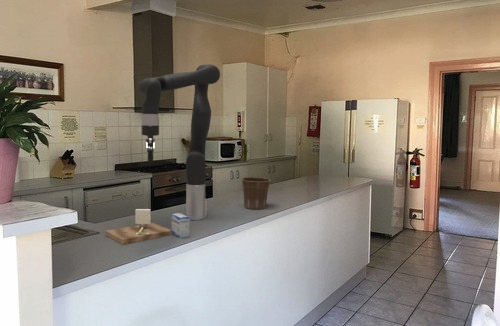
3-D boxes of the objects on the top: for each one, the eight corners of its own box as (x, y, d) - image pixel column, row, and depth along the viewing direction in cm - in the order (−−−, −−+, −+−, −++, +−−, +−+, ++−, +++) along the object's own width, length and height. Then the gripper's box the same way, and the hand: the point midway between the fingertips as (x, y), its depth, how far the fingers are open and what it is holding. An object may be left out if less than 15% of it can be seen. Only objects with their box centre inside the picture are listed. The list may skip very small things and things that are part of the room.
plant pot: (274, 206, 239) (274, 178, 237) (263, 212, 224) (263, 182, 222) (248, 203, 246) (249, 176, 244) (236, 208, 231) (236, 179, 229)
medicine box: (171, 233, 179) (171, 213, 178) (180, 232, 182) (180, 212, 181) (179, 238, 173) (180, 217, 172) (189, 236, 176) (189, 216, 175)
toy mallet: (136, 227, 180) (136, 208, 179) (150, 227, 181) (150, 208, 180) (131, 234, 169) (131, 214, 168) (146, 234, 170) (146, 214, 169)
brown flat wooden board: (152, 227, 189) (152, 222, 189) (171, 234, 177) (171, 230, 177) (105, 235, 174) (105, 230, 174) (123, 244, 162) (123, 239, 162)
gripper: (142, 124, 189) (142, 159, 191) (141, 124, 175) (141, 163, 177) (158, 124, 191) (159, 159, 193) (159, 125, 177) (159, 163, 179)
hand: (150, 161), depth 185 cm, fingers open, 8 cm apart
